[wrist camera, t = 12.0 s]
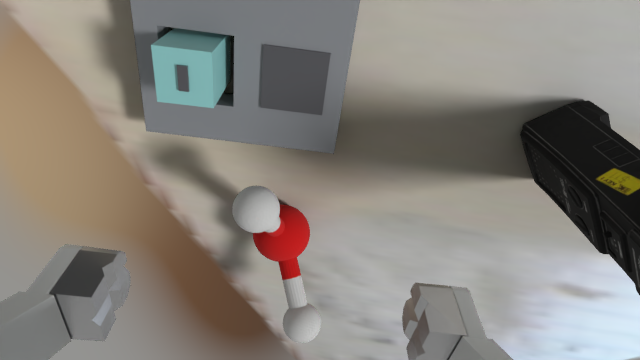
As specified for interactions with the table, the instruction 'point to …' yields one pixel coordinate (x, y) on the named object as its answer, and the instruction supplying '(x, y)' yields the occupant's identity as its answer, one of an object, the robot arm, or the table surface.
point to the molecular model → (280, 252)
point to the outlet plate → (257, 69)
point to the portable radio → (590, 178)
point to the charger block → (191, 67)
